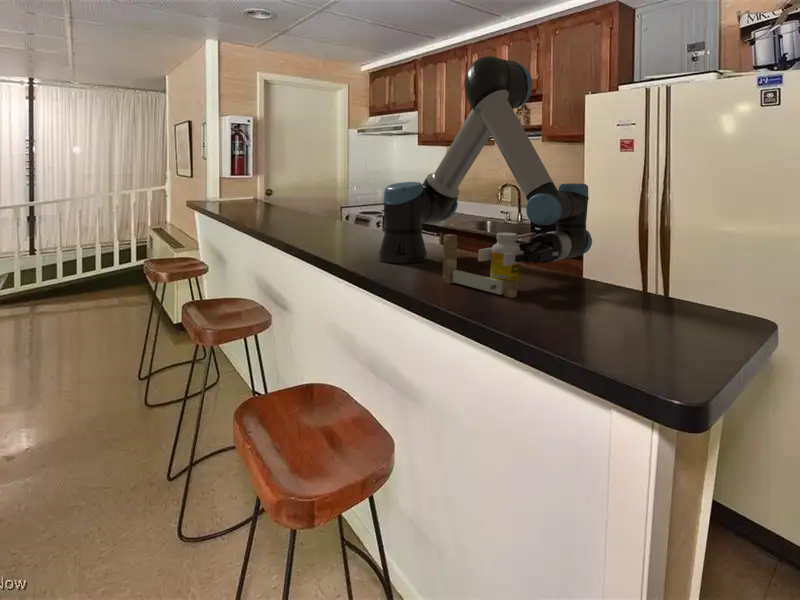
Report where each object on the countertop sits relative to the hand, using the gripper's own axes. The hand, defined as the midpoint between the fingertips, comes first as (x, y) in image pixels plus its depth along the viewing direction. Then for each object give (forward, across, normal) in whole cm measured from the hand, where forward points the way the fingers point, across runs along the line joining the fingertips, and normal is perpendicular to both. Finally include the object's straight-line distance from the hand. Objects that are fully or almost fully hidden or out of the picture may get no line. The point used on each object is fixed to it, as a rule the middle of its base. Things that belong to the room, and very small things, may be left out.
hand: (491, 257), depth 122 cm
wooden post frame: (-2, +6, -9) cm, 10 cm away
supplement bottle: (-5, 0, -8) cm, 9 cm away
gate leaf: (-1, +5, -8) cm, 10 cm away
